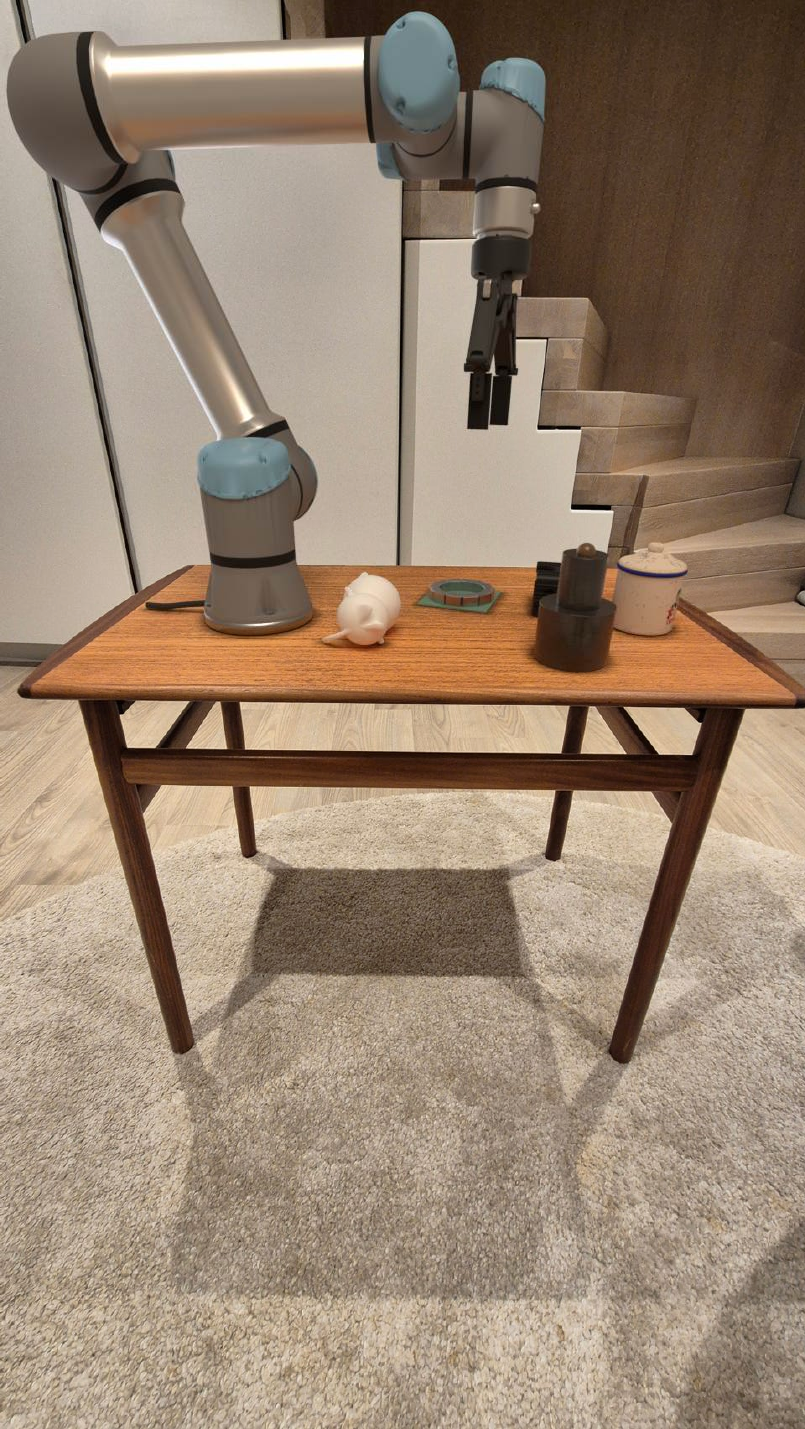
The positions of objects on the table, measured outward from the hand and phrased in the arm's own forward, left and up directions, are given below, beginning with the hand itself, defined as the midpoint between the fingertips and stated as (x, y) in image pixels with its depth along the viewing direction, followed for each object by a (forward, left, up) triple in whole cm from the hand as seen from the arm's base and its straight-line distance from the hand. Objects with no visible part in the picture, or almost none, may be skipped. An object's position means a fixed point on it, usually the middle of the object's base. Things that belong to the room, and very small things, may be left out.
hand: (488, 427), depth 85 cm
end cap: (+13, -1, -25) cm, 28 cm away
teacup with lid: (+25, -3, -25) cm, 35 cm away
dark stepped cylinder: (+17, -20, -25) cm, 36 cm away
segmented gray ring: (-2, -2, -25) cm, 25 cm away
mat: (-2, -2, -25) cm, 25 cm away
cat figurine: (-10, -23, -25) cm, 36 cm away
